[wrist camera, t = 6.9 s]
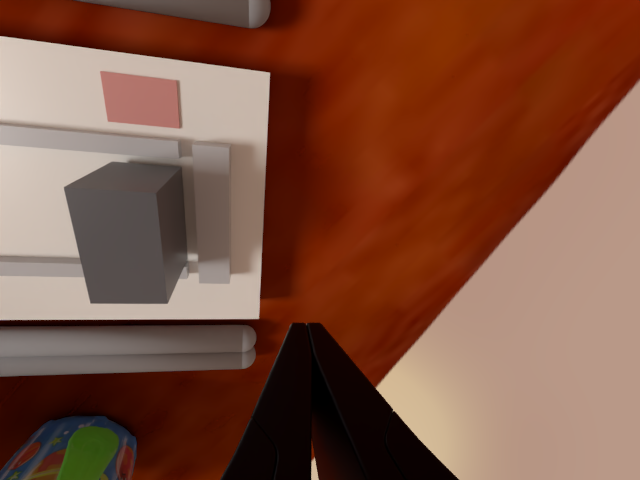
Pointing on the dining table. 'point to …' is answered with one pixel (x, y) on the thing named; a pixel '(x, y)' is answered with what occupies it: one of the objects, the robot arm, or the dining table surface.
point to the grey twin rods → (139, 341)
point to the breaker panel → (131, 147)
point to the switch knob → (129, 231)
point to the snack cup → (75, 452)
